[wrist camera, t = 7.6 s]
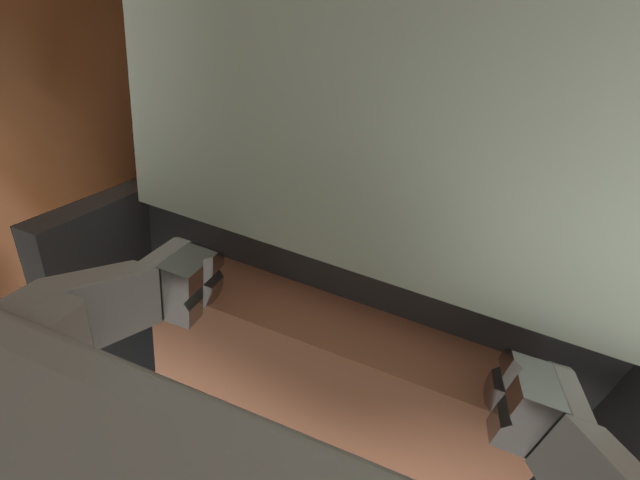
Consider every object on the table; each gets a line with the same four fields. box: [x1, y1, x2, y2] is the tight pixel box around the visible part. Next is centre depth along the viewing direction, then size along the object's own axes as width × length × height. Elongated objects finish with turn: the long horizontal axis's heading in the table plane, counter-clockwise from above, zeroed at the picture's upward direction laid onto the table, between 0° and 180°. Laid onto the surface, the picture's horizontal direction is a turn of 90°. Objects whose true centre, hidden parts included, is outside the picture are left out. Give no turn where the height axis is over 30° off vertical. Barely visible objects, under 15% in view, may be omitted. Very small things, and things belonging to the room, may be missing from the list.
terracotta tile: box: [152, 257, 534, 480], centre depth 12 cm, size 4×12×2 cm, turn 79°
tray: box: [10, 178, 640, 480], centre depth 13 cm, size 14×18×5 cm
